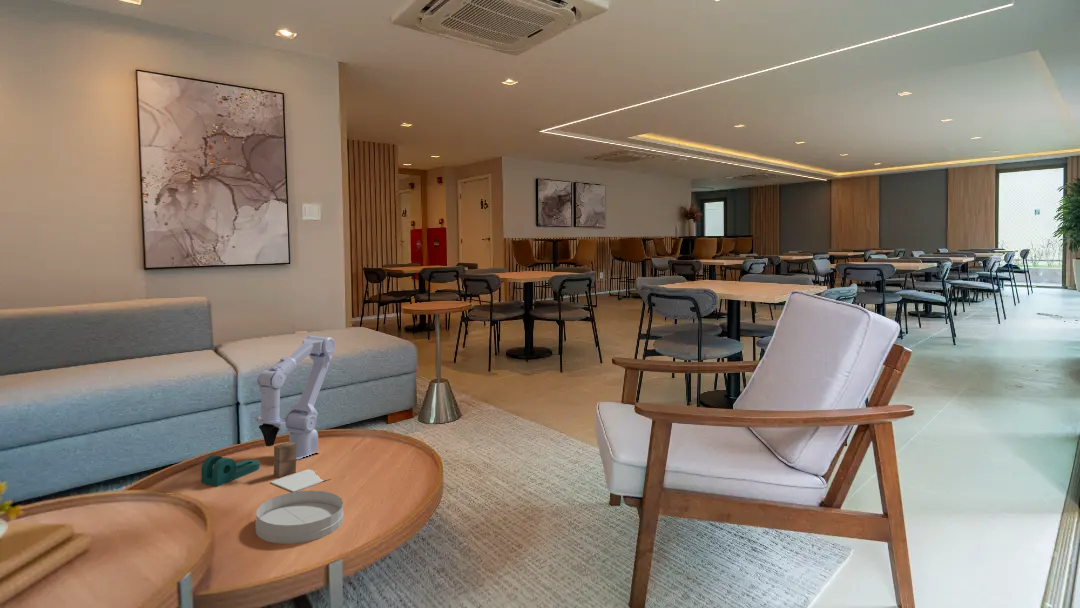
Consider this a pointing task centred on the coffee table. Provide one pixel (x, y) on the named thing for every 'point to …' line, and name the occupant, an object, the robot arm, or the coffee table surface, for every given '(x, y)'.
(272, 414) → the robot arm
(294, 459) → the walnut block
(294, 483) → the grey mat
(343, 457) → the coffee table surface
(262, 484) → the coffee table surface
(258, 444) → the coffee table surface
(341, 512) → the dish
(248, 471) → the bracket
